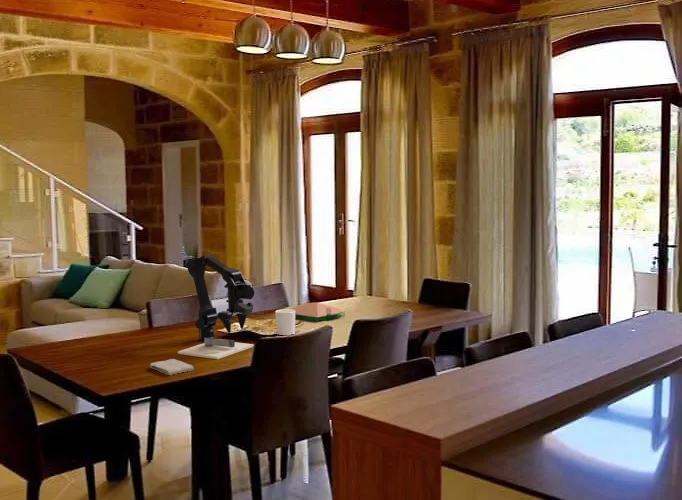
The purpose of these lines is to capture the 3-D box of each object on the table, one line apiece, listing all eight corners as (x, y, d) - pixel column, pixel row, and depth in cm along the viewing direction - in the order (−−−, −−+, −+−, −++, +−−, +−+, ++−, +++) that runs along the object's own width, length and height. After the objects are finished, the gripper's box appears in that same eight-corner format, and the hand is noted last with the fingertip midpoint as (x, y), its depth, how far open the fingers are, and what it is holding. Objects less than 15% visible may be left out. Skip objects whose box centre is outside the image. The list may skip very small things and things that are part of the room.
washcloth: (173, 363, 307) (172, 356, 307) (195, 371, 294) (194, 363, 294) (147, 369, 299) (146, 362, 299) (169, 377, 286) (168, 369, 286)
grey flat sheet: (177, 353, 323) (177, 351, 322) (214, 341, 344) (214, 339, 344) (217, 359, 311) (217, 356, 311) (253, 346, 332) (253, 344, 332)
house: (321, 324, 380) (321, 308, 380) (278, 317, 403) (278, 302, 402) (350, 316, 397) (350, 302, 396) (307, 310, 419) (307, 296, 419)
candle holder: (278, 338, 348) (277, 313, 347) (274, 333, 358) (273, 309, 356) (298, 336, 351) (297, 311, 350) (294, 332, 360) (293, 308, 359)
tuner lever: (202, 346, 331) (202, 338, 330) (208, 344, 334) (208, 336, 334) (230, 349, 322) (230, 341, 322) (236, 347, 326) (236, 339, 325)
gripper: (235, 302, 323) (236, 336, 325) (260, 295, 339) (261, 328, 340) (215, 300, 329) (217, 334, 330) (241, 294, 345) (243, 326, 346)
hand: (235, 330), depth 337 cm, fingers open, 9 cm apart
